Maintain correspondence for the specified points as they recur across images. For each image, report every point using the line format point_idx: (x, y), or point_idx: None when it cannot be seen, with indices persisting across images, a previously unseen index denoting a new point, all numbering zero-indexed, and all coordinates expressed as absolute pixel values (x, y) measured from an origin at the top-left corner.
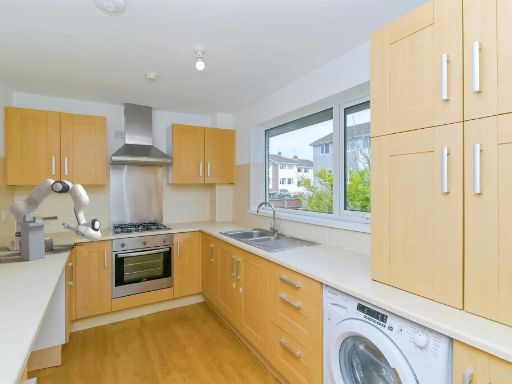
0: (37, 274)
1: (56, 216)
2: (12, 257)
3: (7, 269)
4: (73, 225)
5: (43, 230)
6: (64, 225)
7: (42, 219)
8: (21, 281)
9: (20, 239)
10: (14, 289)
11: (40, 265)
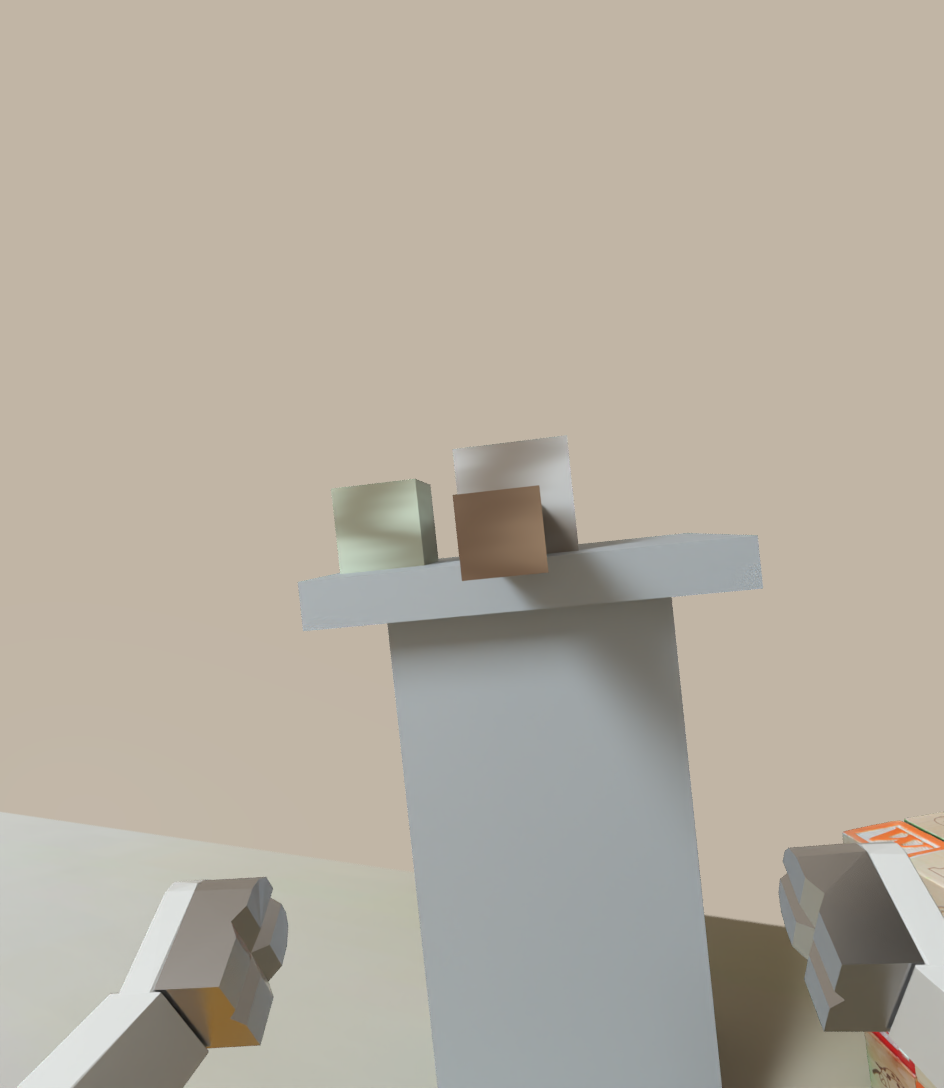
0: (30, 920)
1: (475, 493)
2: None
3: (368, 875)
4: (58, 1079)
5: (399, 712)
6: (826, 1024)
7: (336, 534)
8: (53, 861)
9: (934, 817)
10: (11, 833)
11: None
